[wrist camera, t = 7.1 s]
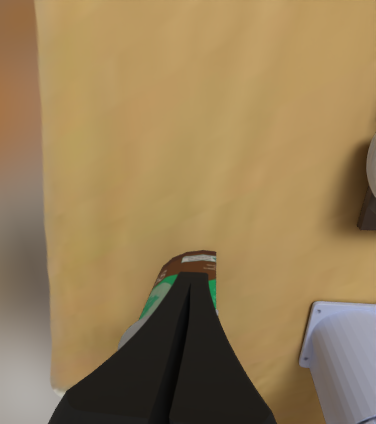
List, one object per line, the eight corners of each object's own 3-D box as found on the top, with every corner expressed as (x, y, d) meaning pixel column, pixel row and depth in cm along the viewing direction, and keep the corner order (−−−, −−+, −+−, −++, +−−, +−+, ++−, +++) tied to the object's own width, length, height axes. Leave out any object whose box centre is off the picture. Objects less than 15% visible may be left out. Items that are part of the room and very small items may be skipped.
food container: (150, 224, 23) (106, 317, 14) (219, 238, 23) (217, 340, 14) (141, 319, 29) (106, 426, 20) (196, 330, 29) (185, 444, 20)
